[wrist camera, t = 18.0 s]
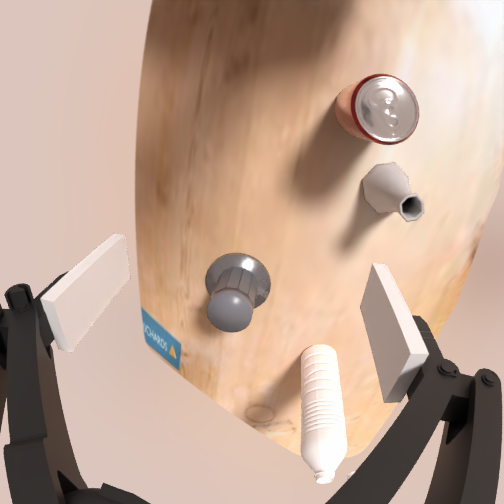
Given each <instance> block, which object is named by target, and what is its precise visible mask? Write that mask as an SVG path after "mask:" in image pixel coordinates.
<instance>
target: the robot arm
mask: <svg viewBox="0 0 504 504" xmlns="http://www.w3.org/2000/svg"><path fill="white" fill-rule="evenodd" d="M129 279H130V270H129V262H128V254H127V245H126V236H125V235H124V234H115V233H114V234H112V235H111V236H110V237H109V238H108V239H106V240H105V241H104V242H103V243H102V244H100V245H99V246H98V247H97V248H96V249H94V250H93V251H92V252H91V253H90V254H89V255H87V256H86V257H85V258H84V259H83V260H82V261H81V262H79V263H78V264H77V265H76V266H75V267H74V268H73V269H71V270H70V271H69V272H66V273H64V274H62V275H60V276H59V277H57V278H56V279H55V280H54V281H53V283H51V284H50V285H49V286H48V287H46V288H45V290H43V291H42V292H41V293H40V294H39V295H38V296H37V297H36V298H35V299H34V298H33V296H32V292H31V289H30V286H29V285H28V284H17V285H14V286H12V287H10V288H9V289H8V290H7V291H6V293H5V298H6V301H7V303H8V306H9V309H2V307H1V304H0V431H1V425H2V419H3V413H4V408H5V402H6V398H7V409H8V423H9V433H10V444H8V445H5V446H4V460H5V467H6V472H7V478H8V484H9V489H10V494H11V498H12V503H13V504H150V503H148V502H147V501H145V500H143V499H141V498H140V497H138V496H136V495H135V494H133V493H130V492H127V491H124V490H121V489H118V488H116V487H113V486H110V485H108V484H105V483H103V484H102V487H101V489H99V488H88V487H87V485H86V484H85V482H84V480H83V479H82V477H81V475H80V472H79V469H78V466H77V463H76V460H75V457H74V453H73V450H72V446H71V443H70V439H69V435H68V431H67V427H66V423H65V419H64V414H63V410H62V405H61V400H60V395H59V389H58V384H57V378H56V372H55V365H54V358H53V350H52V347H51V345H50V344H51V342H52V341H53V340H54V339H55V341H56V344H57V346H58V349H60V350H63V351H66V352H69V353H72V351H73V350H74V349H75V347H76V346H77V345H78V343H79V342H80V341H81V339H82V338H83V337H84V336H85V334H86V333H87V332H88V330H89V329H90V328H91V326H92V325H93V324H94V322H95V321H96V320H97V319H98V317H99V316H100V315H101V314H102V312H103V311H104V310H105V309H106V307H107V306H108V305H109V304H110V302H111V301H112V300H113V299H114V297H115V296H116V295H117V294H118V293H119V291H120V290H121V289H122V288H123V286H124V285H125V284H126V283H127V282H128V281H129ZM360 309H361V313H362V316H363V320H364V323H365V327H366V331H367V334H368V338H369V342H370V346H371V350H372V354H373V358H374V362H375V366H376V370H377V374H378V378H379V383H380V387H381V391H382V396H383V401H384V403H393V402H401V401H402V399H403V398H404V396H405V395H406V393H407V396H408V399H409V401H408V403H407V404H406V406H405V407H404V409H403V410H402V412H401V413H400V415H399V416H398V417H397V419H396V420H395V422H394V423H393V425H392V426H391V427H390V429H389V430H388V431H387V433H386V434H385V435H384V437H383V438H382V439H381V441H380V442H379V443H378V445H377V446H376V447H375V448H374V450H373V451H372V452H371V453H370V455H369V456H368V457H367V458H366V460H365V461H364V462H363V463H362V464H361V466H360V467H359V468H358V469H357V470H356V471H355V472H354V474H353V475H352V476H351V477H350V478H349V479H348V481H347V482H346V483H345V484H344V485H343V486H342V487H341V488H340V489H339V490H338V491H337V492H336V494H334V495H333V497H331V499H329V500H328V502H326V503H325V504H388V503H389V502H390V500H391V499H392V498H393V496H394V495H395V494H396V492H397V491H398V489H399V487H400V486H401V485H402V483H403V482H404V481H405V479H406V477H407V476H408V475H409V473H410V471H411V470H412V468H413V466H414V465H415V464H416V462H417V460H418V459H419V457H420V455H421V453H422V452H423V450H424V448H425V447H426V445H427V443H428V441H429V440H430V438H431V436H432V434H433V432H434V430H435V429H436V426H437V425H438V423H439V421H440V420H442V421H445V425H444V430H443V435H442V440H441V445H440V449H439V454H438V458H437V462H436V466H435V470H434V473H433V478H432V481H431V484H430V488H429V491H428V494H427V498H426V500H425V503H424V504H495V499H496V493H497V486H498V479H499V470H500V459H501V443H502V392H501V382H500V379H499V377H498V376H497V374H496V373H494V372H493V371H491V370H489V369H485V368H483V369H480V370H478V371H477V373H476V374H475V376H474V377H473V376H468V375H465V374H461V373H460V372H459V369H458V367H457V366H456V365H455V364H454V363H453V362H451V361H450V360H447V359H444V358H443V356H442V353H441V351H440V350H439V347H438V345H437V343H436V341H435V339H434V337H433V335H432V332H431V330H430V328H429V326H428V324H427V323H426V322H425V321H424V320H423V319H422V318H421V317H420V316H412V315H411V313H410V311H409V309H408V307H407V305H406V303H405V301H404V299H403V297H402V295H401V293H400V291H399V289H398V287H397V285H396V283H395V281H394V279H393V277H392V275H391V273H390V271H389V269H388V267H387V266H386V265H384V264H376V263H372V267H371V271H370V274H369V278H368V282H367V285H366V289H365V292H364V295H363V299H362V302H361V305H360Z"/></svg>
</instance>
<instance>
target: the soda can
mask: <svg viewBox="0 0 504 504" xmlns="http://www.w3.org/2000/svg"><path fill="white" fill-rule="evenodd" d="M334 111H335V116H336V119H337V121H338V123H339V125H340V126H341V127H342V128H343V129H344V130H345V131H346V132H347V133H349V134H351V135H353V136H355V137H359V138H362V139H365V140H369V141H372V142H375V143H379V144H382V145H394V144H398V143H401V142H403V141H405V140H406V139H408V138H409V137H410V136H411V135H412V133H413V132H414V130H415V129H416V126H417V124H418V119H419V107H418V102H417V100H416V97H415V95H414V93H413V92H412V90H411V89H410V88H409V87H408V86H407V84H405V83H404V82H403V81H402V80H400V79H398V78H396V77H394V76H391V75H388V74H374V75H371V76H368V77H366V78H364V79H362V80H360V81H358V82H356V83H354V84H352V85H350V86H348V87H346V88H344V89H343V90H342V91H341V92H340V93H339V95H338V96H337V98H336V101H335V106H334Z"/></svg>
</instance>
